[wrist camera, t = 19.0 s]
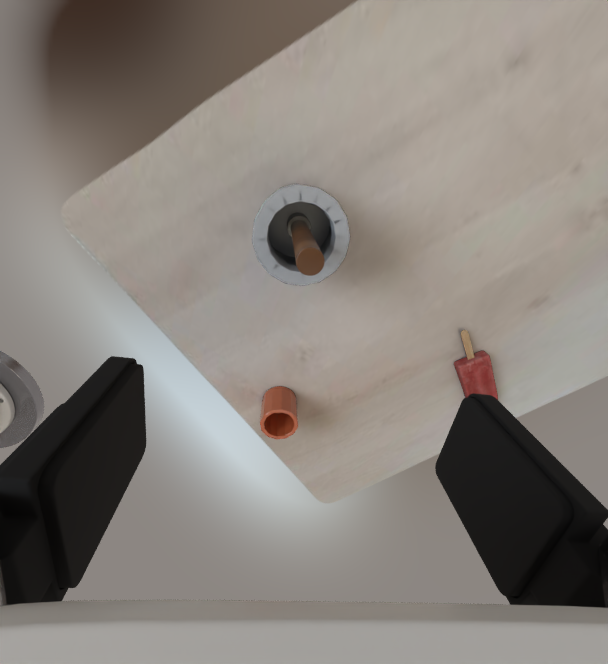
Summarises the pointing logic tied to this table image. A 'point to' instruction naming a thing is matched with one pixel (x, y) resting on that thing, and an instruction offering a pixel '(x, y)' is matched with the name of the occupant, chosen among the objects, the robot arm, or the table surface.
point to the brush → (304, 245)
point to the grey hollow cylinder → (278, 245)
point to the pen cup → (279, 413)
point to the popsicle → (475, 371)
